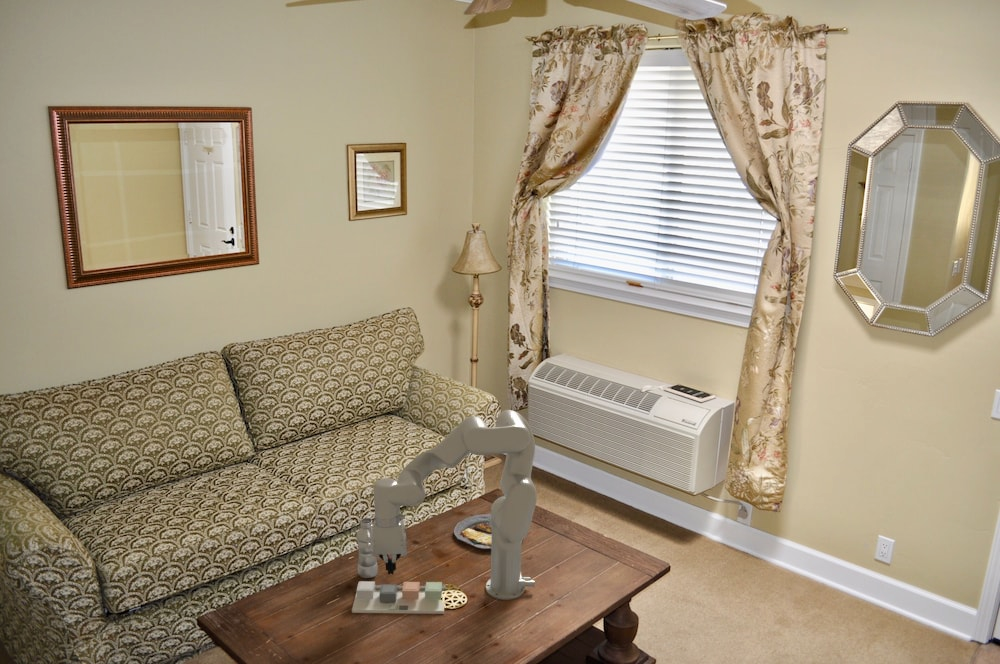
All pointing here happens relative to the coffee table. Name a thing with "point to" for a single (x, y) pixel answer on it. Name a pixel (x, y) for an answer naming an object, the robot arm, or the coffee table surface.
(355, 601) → the keyboard base
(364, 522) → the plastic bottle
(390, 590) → the key charcoal
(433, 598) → the key sage
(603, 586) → the coffee table surface
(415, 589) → the key terracotta
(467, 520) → the food plate
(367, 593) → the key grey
